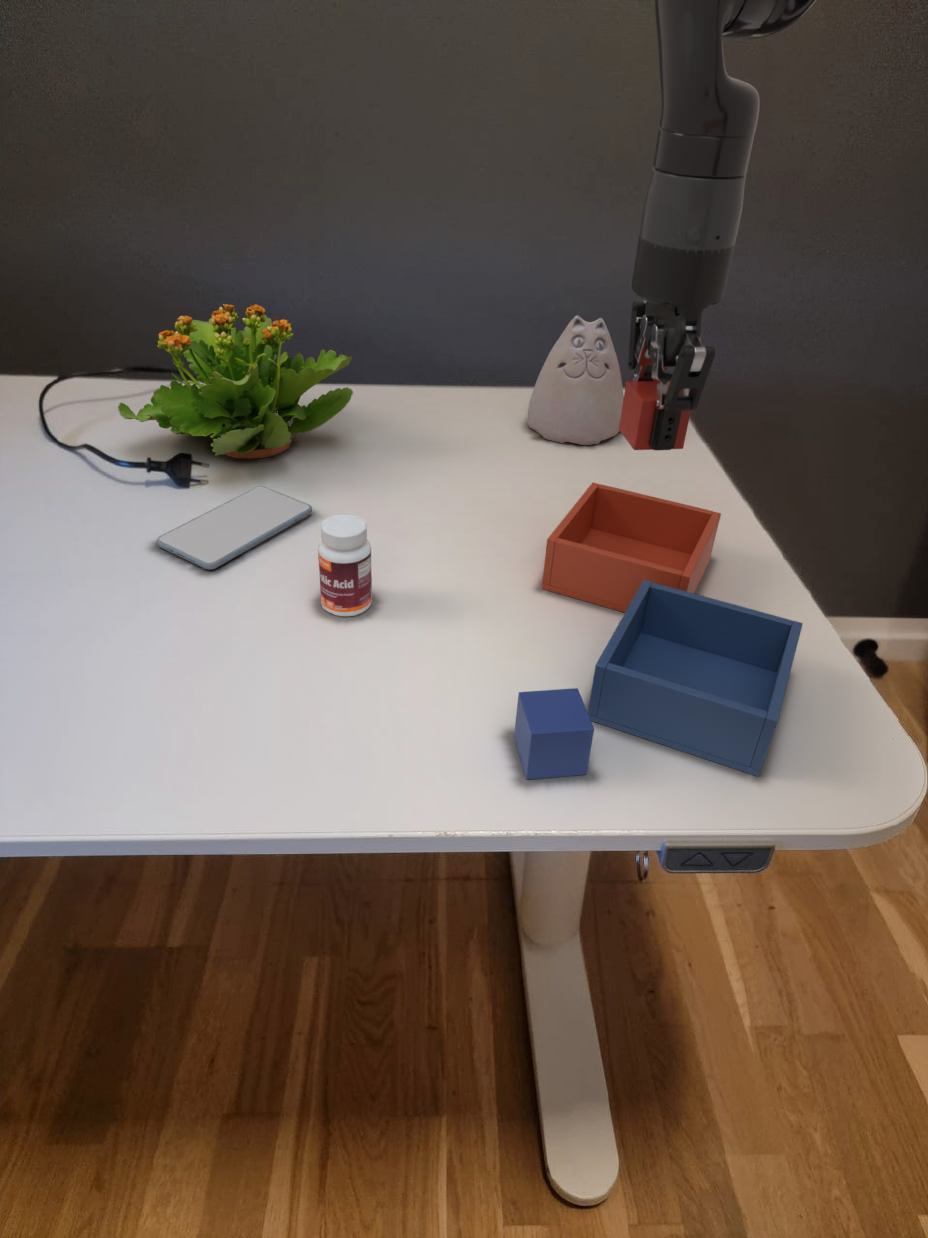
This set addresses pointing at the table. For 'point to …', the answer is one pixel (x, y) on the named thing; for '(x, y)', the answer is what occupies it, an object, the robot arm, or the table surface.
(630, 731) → the slate bin
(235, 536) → the smartphone
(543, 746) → the blue block
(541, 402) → the sculpture
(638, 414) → the red block
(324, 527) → the pill bottle
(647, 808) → the table surface
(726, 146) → the robot arm
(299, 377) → the potted flower
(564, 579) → the terracotta bin
